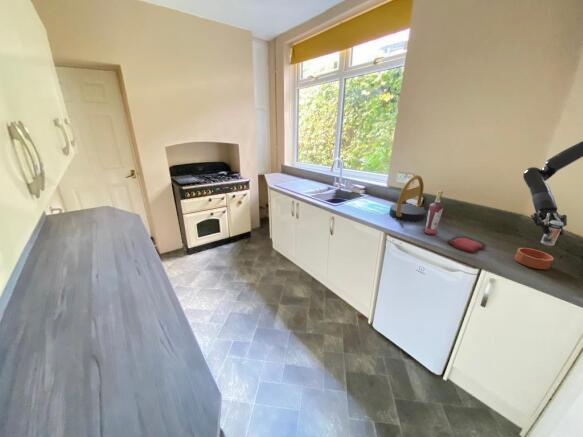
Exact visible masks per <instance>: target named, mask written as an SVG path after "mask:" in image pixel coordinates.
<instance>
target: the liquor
mask: <svg viewBox="0 0 583 437" xmlns="http://www.w3.org/2000/svg"><path fill="white" fill-rule="evenodd" d="M443 192H444V191H443V190H440V189H439V190H437V192H436V197H435V200H434V202H432V203H430V204H429V208H428V211H427V218H426V222H425V223H426V224H425V227H424V228H425V229H424V230H423V231H424V233H425V234H426V233H427V234H426V235H429V234H431V235H430V236H434V235H436V234H437V229H438V226H439V222H440V220H441V216H442V213H443V210H444V207H445V206H444V205H443V204H442V203H441V200H442V195H443Z"/></svg>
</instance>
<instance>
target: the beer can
mask: <svg viewBox="0 0 583 437" xmlns="http://www.w3.org/2000/svg"><path fill="white" fill-rule="evenodd" d="M563 225H564V224H563V222H561V221H557V220H551V221H550V222H549V221H548V225H547V226H548V227H549V230H550V233H549V234H544V233H543V236H542V238H541V240H540V243H541V244H542V245H544V246H549V247H551V246H555V244H556V242H557V240H558V238H559V236H560V235H559V233H560V231H561V229H562V228H564V227H563Z"/></svg>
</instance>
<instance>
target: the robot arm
mask: <svg viewBox="0 0 583 437" xmlns="http://www.w3.org/2000/svg"><path fill="white" fill-rule="evenodd" d="M582 158H583V140H582V141H580V142H578V143H576V144H574V145H572V146H569V147H567V148H566V149H564V150H562V151H560V152H559V153H557V154H555V155H553V156H552V157H550V158H548V159H547V160H545V162H544V164H545V166H543V167H542V168H539V167H536V166H532V167H531V166H530V167H528V168H526V169H525V170H524V172H523V174H522V177H523V180H524V183H525V184H526V186H527V188H529V193H530V195H531V201H532V205H533V207H534V211H535V212H534V213H532V214H531V215H530V218H531V219H532V220H533V222H534V224H535V226H539V227H540V228H541V230H542V233H543V235H544V234H549V233H550V230H549V227H548V224H549V222H550V221H551V220H557V221H561V222H563V224H564V225H563V227H562V229H561V231H560V233H559V235H558V236H562V235H564V233H565V231H564V227H566V226H567V225H568V218H567V215H566V214H560V213H559V212H558V206H557V203H556V200H555V197H554V195H553V193H552V191H551V188H550V186H549V184H548V183H547V182H546V181H547V180H549V179H550V178H552V177H553V176H554V175H555V174H556V173H558V171H560V170H563V169H564V168H566V167H567V166H569V165H571V164H573V163H574V162H576V161H578V160H581V159H582Z"/></svg>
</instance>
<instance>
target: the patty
mask: <svg viewBox="0 0 583 437" xmlns="http://www.w3.org/2000/svg"><path fill="white" fill-rule="evenodd" d="M447 243H448V244H449V245H450V244H451V245H450V246H452V245H453V246H452V247H454V248H455V247H456V248H455V249H457V248H458V249H457V250H459V249H461V250H460V251H463V250H464V251H463V252H466V253H468V252H469V253H468V254H475V253H476V252H477V251H479V250H483V249H484V245H483V244H482V243H480V242H477V241H475V240H473V239H470V238H467V237H457V238H454V239H453V240H449V241H448V242H447Z"/></svg>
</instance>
